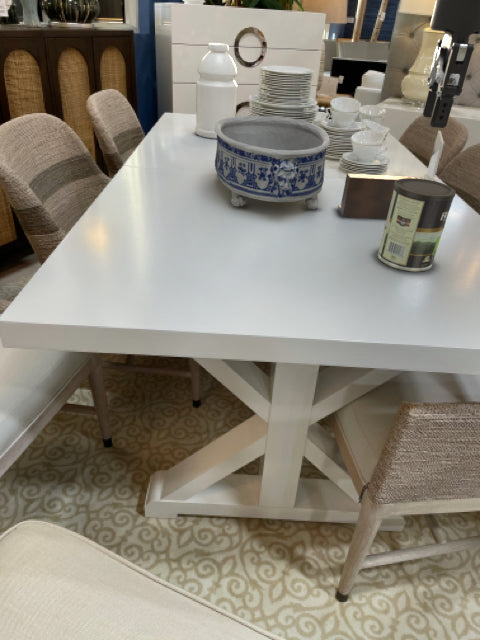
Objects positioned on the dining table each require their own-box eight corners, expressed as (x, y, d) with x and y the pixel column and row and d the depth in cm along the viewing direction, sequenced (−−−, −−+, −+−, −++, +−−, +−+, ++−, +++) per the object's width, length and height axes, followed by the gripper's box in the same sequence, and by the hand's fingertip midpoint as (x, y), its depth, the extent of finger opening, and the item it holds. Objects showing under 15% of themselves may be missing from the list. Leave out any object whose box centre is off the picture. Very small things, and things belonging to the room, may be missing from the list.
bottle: (238, 133, 172) (244, 44, 157) (229, 141, 161) (234, 46, 146) (202, 128, 174) (203, 41, 159) (190, 136, 163) (191, 42, 148)
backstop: (403, 212, 112) (413, 174, 107) (410, 220, 108) (421, 181, 103) (337, 209, 111) (344, 170, 106) (342, 217, 107) (350, 177, 102)
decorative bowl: (342, 223, 103) (356, 153, 95) (222, 222, 99) (226, 149, 91) (296, 168, 138) (303, 113, 130) (205, 165, 134) (207, 108, 126)
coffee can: (432, 254, 93) (455, 183, 85) (431, 276, 84) (456, 200, 77) (379, 243, 95) (397, 174, 88) (373, 264, 87) (392, 189, 79)
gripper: (514, -11, 55) (468, 134, 64) (486, -6, 67) (450, 116, 76) (448, -15, 56) (412, 128, 65) (432, -10, 68) (403, 111, 77)
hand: (433, 121), depth 71 cm, fingers open, 8 cm apart
